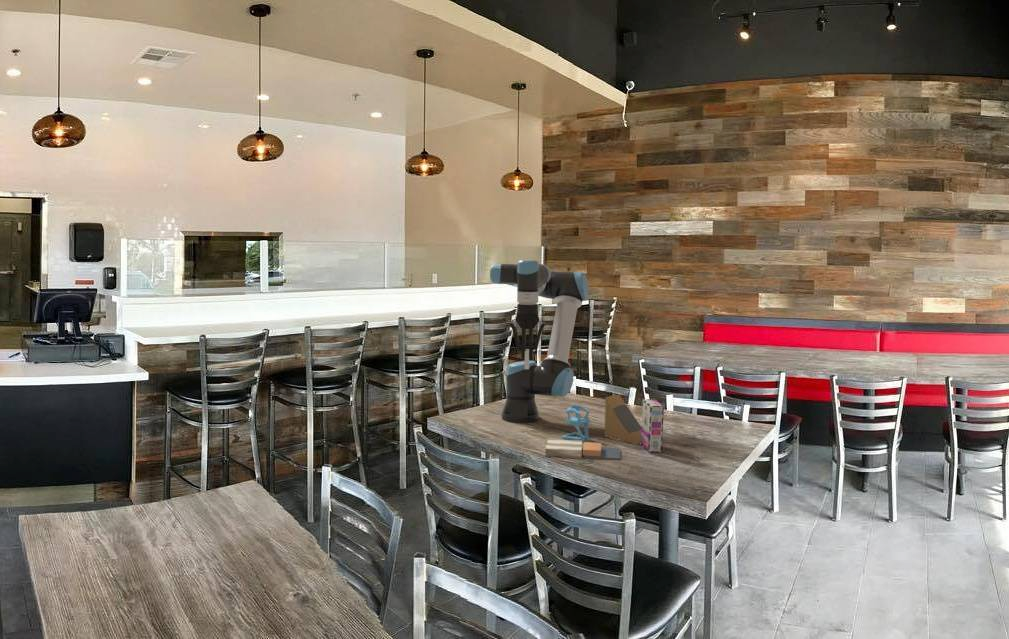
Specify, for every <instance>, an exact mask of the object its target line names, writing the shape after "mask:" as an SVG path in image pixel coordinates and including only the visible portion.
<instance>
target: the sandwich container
mask: <svg viewBox="0 0 1009 639" xmlns="http://www.w3.org/2000/svg"><path fill="white" fill-rule="evenodd" d="M604 401H605V403H604V437H606V436H607V437H606V438H610V437H611V438H610V439H613V438H615V439H614V440H617V439H620V440H619V441H621V440H624V441H623V442H625V441H628V442H627V443H629V442H631V443H630V444H633V443H635V444H634V445H637V444H639V445H641V444H640V443H641V433H642V425H641V424H640V423H639V421H638V420H637V419H636V417H635V416H634V414H633V413H632V411H631V410H630V409H629V407H628V406H627V404H626V403H625V401H624V400H623V397H622V396H621V394H620V393H618V394H614V395H613V394H612V395H610V396H605V400H604Z"/></svg>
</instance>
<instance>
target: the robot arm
mask: <svg viewBox="0 0 1009 639" xmlns="http://www.w3.org/2000/svg"><path fill="white" fill-rule="evenodd" d="M489 279H490V282H492V283H493V284H496V285H497V284H498V285H507V286H511V287H515V288H516V289H517V291H516V292H517V293H516V294H517V295H516V296H517V297H516V300H517V305H516V317H515V320H513V321H511V322H510V323H509V327H510V328H511V329H512V334H513V337H514V343H515V347H516V349H517V350H520V351H521V360H522V361H516V362H511V363H509V364H507V367H506V375H505V376H506V377H505V378H506V382H505V383H506V392H505V393H506V398H505V402H504V406H503V408H502V412H501V419H502V420H504V421H507V422H510V423H531V422H535V421H538V420H539V419H540V412H539V410H538V409H539V408H538V405H537V402H536V396H537V395H538V396H547V397H553V398H561V397H562V398H564V397H566V396H567V395H568V394H570V392H571V389H572V387H573V385H574V384H573V383H574V375H575V372H574V370H573V369H572V368H571V367H572V366H571V363H570V362H569V357H570V356H569V355H570V350H571V345H572V339H573V335H574V329H575V323H576V317H577V313H578V312H577V311H578V309H579V308H580V307H582V305H583V301H584V302H585V301H587V300H588V299H589V293H590V292H589V291H590V290H589V289H590V288H589V282H588V277H587V275H586V274H585V273H583V272H577V271H551V269H550V268H549V267H548V265H545V264H543V263H539V261H538V260H537V259H519V260H518V262H517V264H514V263H511V264H510V263H494V264H492V265H491V266H490V270H489ZM539 297H541V298H545V299H549V300H550V299H551V300H553V301H554V303H555V304H556V309H555V314H554V319H553V324H552V328H551V333H550V338H549V345H548V349H547V354H546V357H545V358H544V359H542V361H541V365H537V363H536V361H534V360H533V358H534V357H533V352H534V351H535V350H537V349H538V346H539V342H540V339H541V337H542V336H541V335H542V332H543V329H544V328H545V326H546V323H545V322H543V321H541V320H540V317H539V304H538V303H539ZM517 324H518V326H519V327H520V329H521V341H520V337H519V333H518V328H517ZM537 325H538V326H537ZM536 326H537V327H538V330H537V335H536V337H535V343H534V340H533V339H534V329H535V328H536ZM527 330H528V349H526V347H527V346H526V340H527V338H526V337H527ZM533 344H534V345H533Z"/></svg>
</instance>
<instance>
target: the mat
mask: <svg viewBox="0 0 1009 639" xmlns="http://www.w3.org/2000/svg"><path fill="white" fill-rule="evenodd" d="M583 457H584V459H593V458H601V459H600V460H612V459H622V458H621V449H620V447H611V446H610V447H606V446H601V456H584V455H583Z"/></svg>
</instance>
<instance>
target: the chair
mask: <svg viewBox="0 0 1009 639" xmlns="http://www.w3.org/2000/svg"><path fill="white" fill-rule="evenodd" d="M581 410H582V411H585V412H586V413H585V418H583V417H581V415H582V413H581V412H579V411H581ZM570 413H575V414H574V416H573V417H571V415H570ZM589 413H590V410H589V409H587V408H586V407H584V406H581V405H571V406H569V407H568V408H567V409H566V414H567V419H565V420H564V422H565V423H569V424H571V425H572V426H573V427H575V429H576V430H577V431H576V432H575V431H574V432H571V433H567V434H564V435H562V439H563V438H565V439H564V440H581V441H582V442H586V441H589V440H590V439H589V438H590V437H589V423H590V422H591V419H589V417H588V416H589ZM581 425H583V427H584V434H583V433H582V430H581V428H580V426H581ZM575 436H576V437H575Z"/></svg>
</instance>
